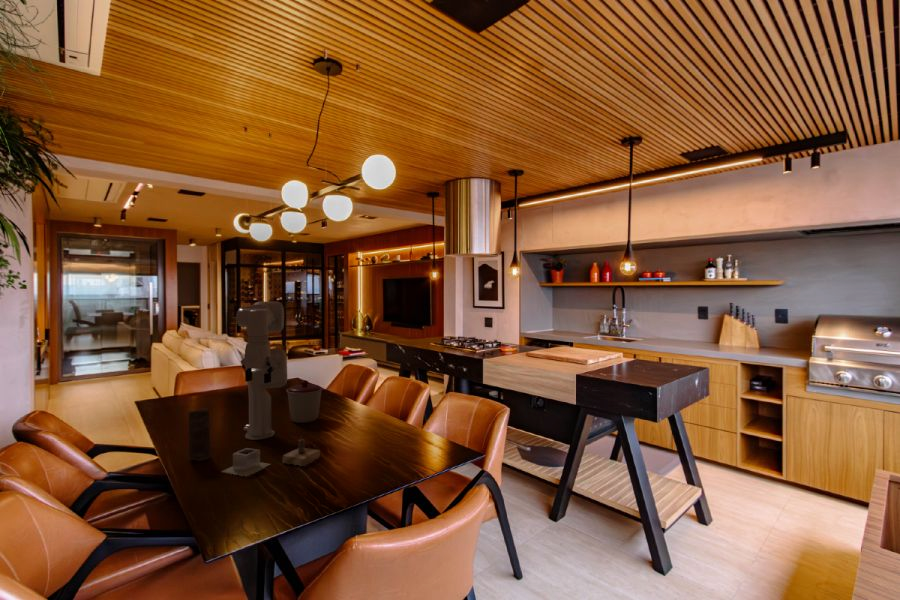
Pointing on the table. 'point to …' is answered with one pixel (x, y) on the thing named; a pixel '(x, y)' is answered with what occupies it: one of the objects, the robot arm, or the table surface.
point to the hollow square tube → (246, 459)
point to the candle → (199, 435)
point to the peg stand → (301, 455)
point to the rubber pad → (241, 473)
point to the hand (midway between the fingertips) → (258, 381)
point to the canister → (304, 402)
